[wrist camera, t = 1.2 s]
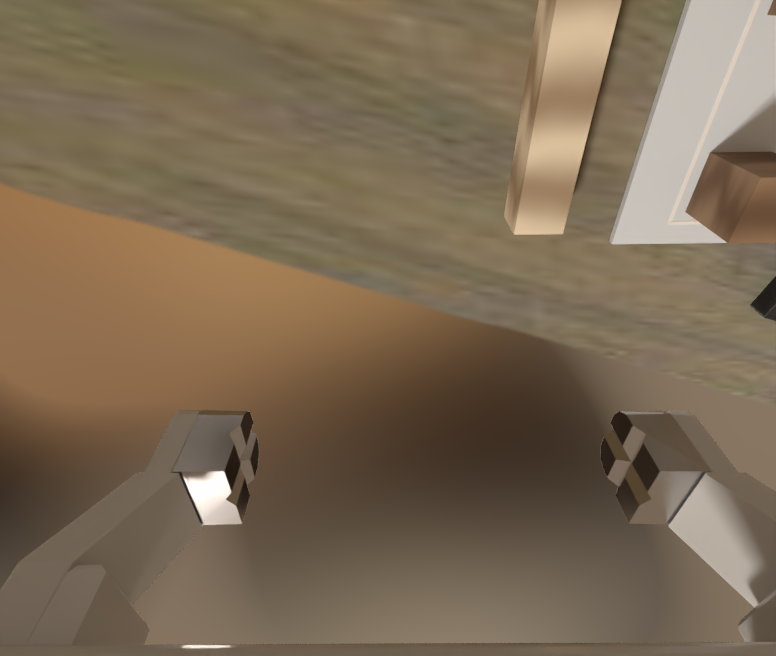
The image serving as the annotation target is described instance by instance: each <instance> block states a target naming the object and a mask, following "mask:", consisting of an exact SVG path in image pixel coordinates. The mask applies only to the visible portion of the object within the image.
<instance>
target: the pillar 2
mask: <svg viewBox="0 0 776 656" xmlns="http://www.w3.org/2000/svg"><path fill="white" fill-rule="evenodd" d="M767 15H774V16H776V0H773V2H772V4H771V6H770V9H769V11H768V14H767Z"/></svg>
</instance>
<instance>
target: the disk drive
mask: <svg viewBox="0 0 776 656" xmlns="http://www.w3.org/2000/svg"><path fill="white" fill-rule="evenodd" d="M750 306H751V307H752V308H753V309H754V310H755V311H757V312H758V313H759V314H760V315H761V316H763V317H764V318H768V319H771V320H774V321H776V277H775V278H774V279H773V280H772V281H771V282H770V283H769V284H768V285H767V287H766V288H765V289H764V290H763V291H762V292H761V294H760V295H759V296H758V297H757V298H756V299H755V300H754V301H753V302H752V304H751V305H750Z"/></svg>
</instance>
